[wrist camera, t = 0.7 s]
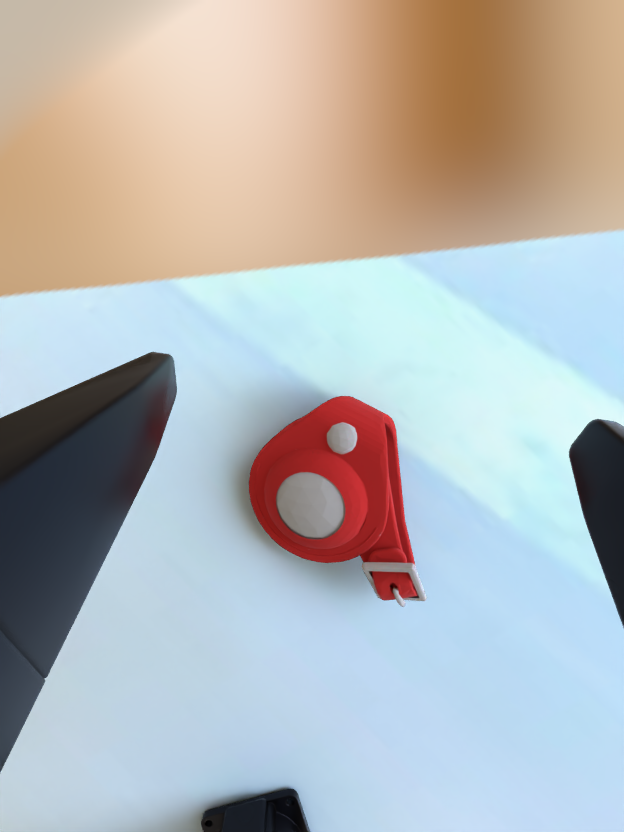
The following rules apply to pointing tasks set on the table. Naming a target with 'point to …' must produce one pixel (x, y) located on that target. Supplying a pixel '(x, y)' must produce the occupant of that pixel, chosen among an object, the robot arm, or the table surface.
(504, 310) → the table surface
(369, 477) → the tracker holder
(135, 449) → the robot arm
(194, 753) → the table surface
